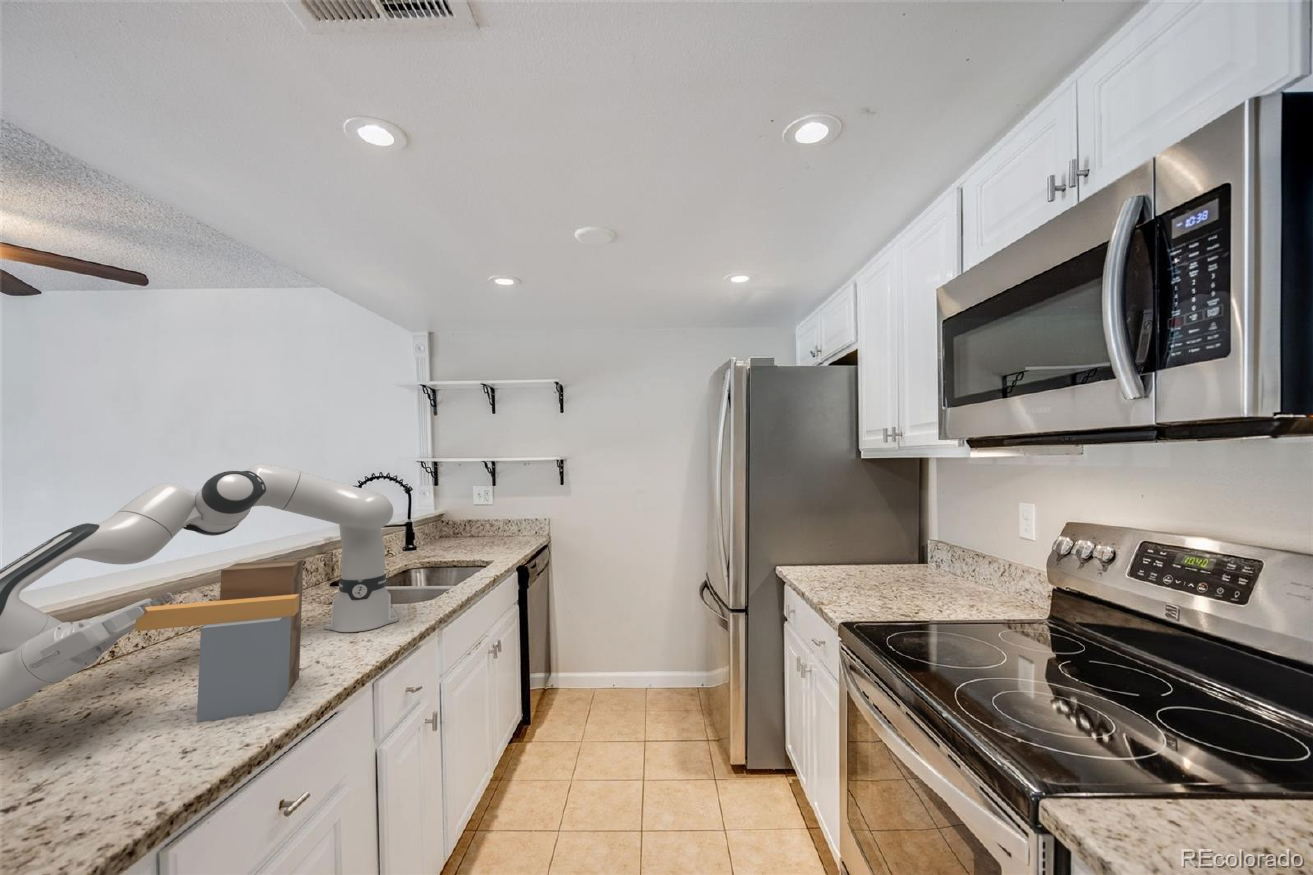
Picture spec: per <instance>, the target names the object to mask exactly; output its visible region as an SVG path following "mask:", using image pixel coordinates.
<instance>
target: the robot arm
mask: <svg viewBox="0 0 1313 875" xmlns="http://www.w3.org/2000/svg"><path fill="white" fill-rule="evenodd" d="M260 506H261V507H262V506H263V507H270V508H273V509H276V510H281V511H285V512H289V513H293V514H296V515H301V516H305V517H309V518H313V519H317V520H322V521H326V522H329V523H333V524H336V525H338V526H339V536H340V542H341V543H340V544H341V572H340V574H341V577H340V578H339V582H338V592H339V593H338V594H337V595H336V596H335V597H333V599H332V604H331V605H332V606H331V617H330V621H328V622H327V623H325V624H324V626H323V629H324V630H329V631H330V630H331V631H335V632H339V633H354V632H363V631H364V632H365V631H368V630H375V629H377V628H378V629H379V628H381V627H384V626H386V625H388V624H392V623H396V622H398V621H399V618H398V615H397V613H396V610H395V609H394V607H393V604H392V603H391V600H392V599H391V596H392V595H391V593H390V592H389V591H388V590H387V588H386V586H387V574H386V573H385V570H386V569H385V567H386V562H385V561H386V546H385V543H384V539H383V538H384V537H383V532H382V528H384V527H386V526H387V525H388V524H389V523H390V522H391V520H392V518H393V516H394V507H393V504H392V502H391V501H390V500H389V499H388V498H387V497H386V496H385V495H384V494H381V493H379V492H375V491H373V490H368V489H365V488H361V487H357V486H354V485H350V484H346V483H343V482H339V481H336V480H330V479H329V478H324V477H321V476H319V475H318V476H317V475H314V474H311V473H309V472H308V473H307V472H303V471H302V470H301V471H299V470H298V469H297V470H296V469H293V468H289V467H284V466H279V465H272V464H264V463H259V464H254V465H252V466H250V467H249V468H248V469H246V470H241V471H240V470H227V471H222V472H220V473H217V474H215V475H213V476H212V477H211V478H209V479H207V480H206V482H205V483H204V484H203V485H202V487H201V488H200V489H199V490H198V489H197V490H193V489H188V488H186V487H184V486H182V485H179V484H176V483H170V482H169V483H168V482H167V483H160V484H157V485H154V486H152V487H150V488H149V489H147V490H145V491H144V492H142V493H141V494H139V495H137V496H136V497H135V498H133V499H132V500H130V501H129V502H128V503H126V504H125V505H124V506H123V507H121V508H120V509H118V511H116V512H115V513H114V514H113V515H112V516H111V517H109V518H107V519H106V520H103V521H101V522H98V523H91V522H90V523H88V522H87V523H81V524H79V525H75V526H73V527H71V528H68V529H67V530H65V531H63V532H62V531H61V533H58V534H57V535H55V536H54V537H52V538H50V539H48V540H46V541H45V542H43V543H42V544H39V545H38V546H36V547H35V548H33V549H32V550H30V551H28V552H27V553H25V554H23V555H21V557H20V556H19V558H17V559H15V560H14V561H12V562H11V563H9V564H7V565H6V566H4V567H2V568H1V569H0V713H1V712H4V711H5V710H6V711H7V709H10V708H12V707H14V706H16V705H17V704H20V703H22V702H23V701H25V700H27V699H29V698H31V697H33V696H35V695H36V694H37V693H38V692H39V691H40V690H42V689H44V688H45V687H47V686H50V685H53V684H54V685H55V684H57V683H59V682H61V681H63V680H65V679H67V678H69V677H71V676H73V675H74V674H77V673H78V672H81V671H82V670H84V669H86V668H87V667H90V666H91V665H93V664H95V663H96V662H97V661H98V660H99V658H100V657H101V656H102V655H103V654H104V653H105V652H106V651H107V650H109V649H110V648H112V647H114V645H115V644H117V643H118V642H117V641H118V640H120V639H121V638H122V637H125V636H126V635H127V634H129V633H130V632H132V631H135V626H136V619H137V618H139V617H141V616H143V615H145V614H146V613H147V610H146V609H145V608H146V607H151V606H163V605H168V604H169V603H171V602H173V601H174V600H175V597H174V596H173V594H172V593H171V592H166V593H164V594H163V595H160V596H159V597H156V598H154V599H152V598H145V599H141V600H140V601H137V602H134V603H132V604H130V605H127V606H124V607H121V608H119V609H117V610H115V611H113V612H112V611H111V612H110V613H107V614H104V615H102V616H98V615H97V616H94V617H90V618H86V619H83V620H77V621H67V622H66V621H65V622H62V621H61V620H59V619H58V618H55V617H54V616H52V615H51V614H49V613H47V612H43V611H41V610H40V609H37V608H36V607H35V606H32V605H30V604H28V603H27V602H25V601H23V600H22V599H20V598H21V597H20V594H21V593H22V591H23V590H25V589H26V588H28V587H29V586H30V585H32V584H33V583H35V582H36V581H38V580H39V579H41V578H42V577H44V576H46V575H47V574H49V573H51V571H53V570H55V569H56V568H58V567H59V566H60V565H62V564H64V563H65V562H67V561H70V560H72V559H77V558H78V559H84V560H87V561H92V562H99V563H104V564H108V565H109V564H110V565H123V566H124V565H133V564H138V563H141V562H145V561H147V560H150V559H151V558H152V557H154V556H156V555H157V554H158V553H160V551H161V550H163V548H164V547H166V546H167V545H168V544H169V543H170V541H171V540H173V539H174V537H175V536H177V534H179V532H180V531H182V530H183V529H184V530H186V531H190V532H191V531H192V532H195V533H198V534H201V535H204V536H211V537H212V536H220V535H224V534H226V533H229V532H231V531H233V530H234V529H236V528H237V527H238V526H239V524H241V522H242V521H243V520H244V519H246V517H247V516H248V515H249V514H250V511H251V509H252V508H253V507H260Z"/></svg>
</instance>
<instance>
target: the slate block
mask: <svg viewBox="0 0 1313 875" xmlns="http://www.w3.org/2000/svg"><path fill="white" fill-rule="evenodd" d="M290 633H291V616H289V617H279V618H269V619H259V620H248V621H238V622H228V623H217V624H207V625H202V627H200V639H199V660H198V662H199V663H198V684H197V685H198V686H197V687H198V688H197V703H196V704H197V707H196V710H197V711H196V723H202V722H208V721H215V720H221V719H227V718H233V717H240V716H246V715H252V714H260V713H261V714H262V713H266V712H273V711H277V709H278V708H279V707H280V706H281V704H282V703H283V701H284V700H285V698H286V697H287V695H288V694H289V692H290V691H289V662H290ZM288 691H289V692H288Z"/></svg>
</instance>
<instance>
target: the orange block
mask: <svg viewBox="0 0 1313 875" xmlns="http://www.w3.org/2000/svg"><path fill="white" fill-rule="evenodd" d="M145 609H146V610H147V613H146V614H145V615H143V616H141V617H139V618H137V619H136V626H135V629H134V632H144V631H146V632H147V631H152V630H153V631H155V630H166V629H176V628H185V627H186V628H187V627H195V626H196V627H197V626H205V625H207V624H217V623H228V622H238V621H248V620H259V619H269V618H279V617H289V616H294V615H295V614H296V613H297V612H298V611H299V594H294V595H282V596H270V597H258V598H246V599H234V600H222V601H220V600H212V601H200V602H187V603H178V604H177V603H176V604H175V603H174V604H165V605H163V606H151V607H146V608H145Z"/></svg>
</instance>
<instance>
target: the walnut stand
mask: <svg viewBox="0 0 1313 875" xmlns="http://www.w3.org/2000/svg"><path fill="white" fill-rule="evenodd" d="M303 572H304V558H297V559H294V558H293V559H283V560H282V559H280V560H279V559H278V560H265V561H262V560H261V561H250V562H249V561H248V562H237V563H234V564H232V565H230V566H228V567H226V568H223V569H221V571H220V588H219V589H220V590H219V591H220V592H219V601H222V600H234V599H246V598H258V597H270V596H282V595H294V594H299V611H298V612H297V613H296V614H295V615H294V616H291V633H290V662H289V691H288V693H290V691H291V690H292V688H293V687H294V685H295V684H296V683H297V681H298V680H299V679H300V667H301V666H300V663H301V639H302V638H301V636H302V635H301V634H302V633H301V632H302V604H303V601H302V600H303V575H304V574H303Z"/></svg>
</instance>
